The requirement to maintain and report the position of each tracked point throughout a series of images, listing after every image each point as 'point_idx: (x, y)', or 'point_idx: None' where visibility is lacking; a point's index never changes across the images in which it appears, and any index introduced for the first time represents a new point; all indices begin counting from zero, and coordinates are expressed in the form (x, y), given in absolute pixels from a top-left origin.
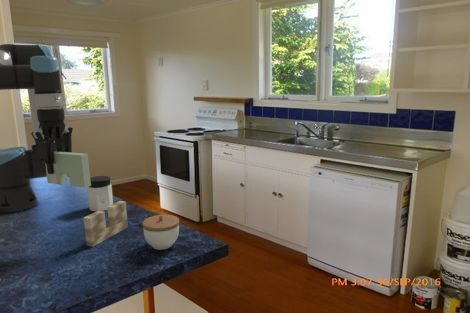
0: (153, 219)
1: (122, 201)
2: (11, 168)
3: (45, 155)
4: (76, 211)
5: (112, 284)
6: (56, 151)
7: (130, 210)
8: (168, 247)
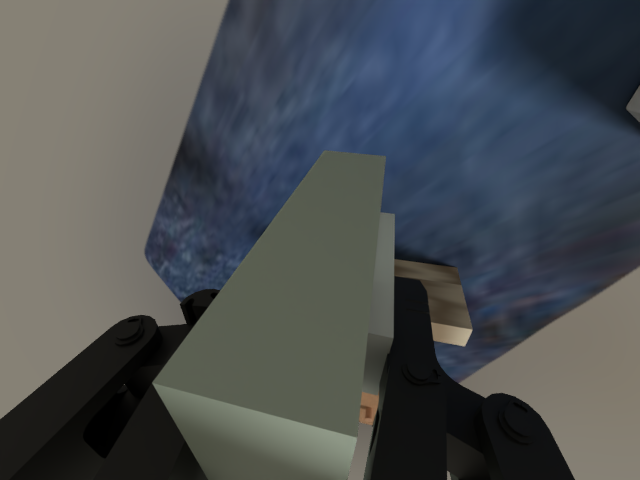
0: (370, 399)
1: (466, 338)
2: None
3: (99, 454)
4: None
5: None
6: None
7: (629, 230)
8: None
